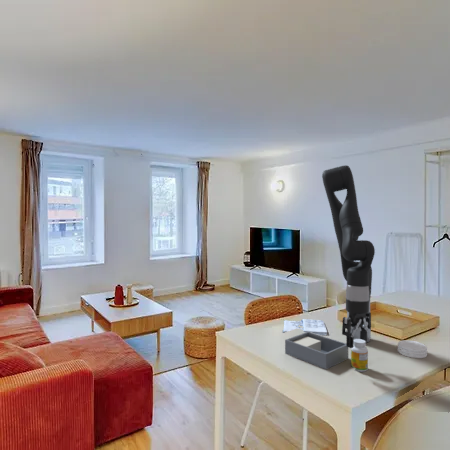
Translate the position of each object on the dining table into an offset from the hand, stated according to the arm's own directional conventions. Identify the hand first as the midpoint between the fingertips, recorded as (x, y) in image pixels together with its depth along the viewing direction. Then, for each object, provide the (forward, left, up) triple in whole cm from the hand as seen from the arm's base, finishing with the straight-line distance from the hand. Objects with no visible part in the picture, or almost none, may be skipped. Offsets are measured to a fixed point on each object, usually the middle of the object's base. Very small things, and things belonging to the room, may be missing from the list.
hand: (356, 344), depth 119 cm
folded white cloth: (-22, -39, -9) cm, 46 cm away
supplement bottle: (-1, +1, -9) cm, 9 cm away
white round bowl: (-29, +7, -9) cm, 31 cm away
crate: (+3, -14, -8) cm, 17 cm away
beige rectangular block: (+3, -19, -8) cm, 21 cm away
